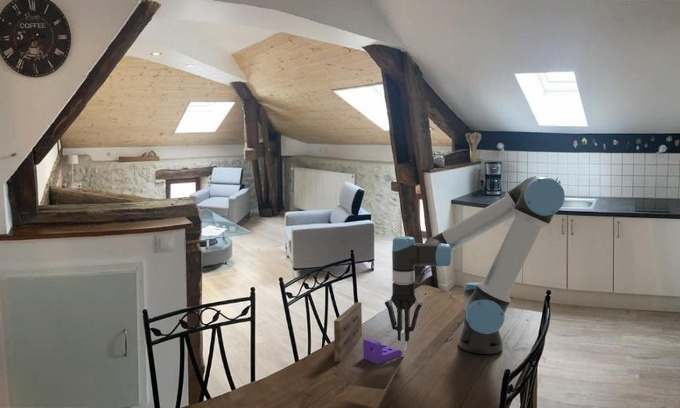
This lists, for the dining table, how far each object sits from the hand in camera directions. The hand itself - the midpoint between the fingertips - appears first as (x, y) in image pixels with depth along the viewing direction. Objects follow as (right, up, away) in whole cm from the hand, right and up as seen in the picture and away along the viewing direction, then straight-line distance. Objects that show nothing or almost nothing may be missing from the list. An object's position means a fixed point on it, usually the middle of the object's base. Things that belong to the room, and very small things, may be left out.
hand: (403, 349), depth 170 cm
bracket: (-7, -3, 0) cm, 8 cm away
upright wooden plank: (-19, -2, +7) cm, 20 cm away
